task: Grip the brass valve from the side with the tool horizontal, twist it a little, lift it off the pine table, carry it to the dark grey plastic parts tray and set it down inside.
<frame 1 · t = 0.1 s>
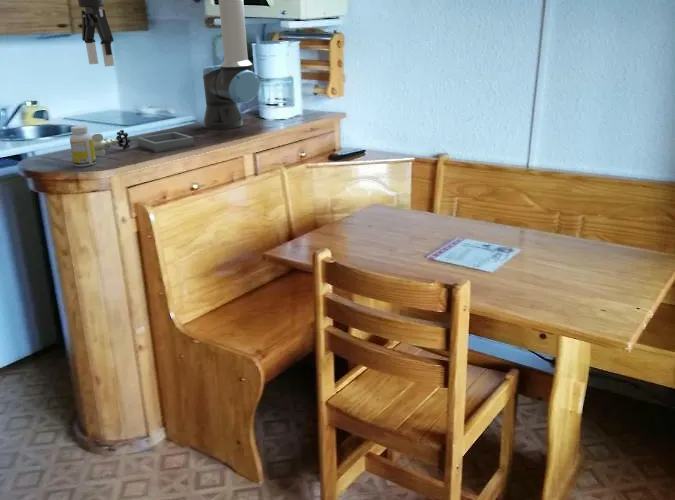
hand: (101, 65, 208), 28 cm above the table, tool pointing down, fingers open, 13 cm apart
valve: (110, 153, 218), on the table
parts tray: (166, 146, 224), on the table
pill bottle: (85, 165, 202), on the table
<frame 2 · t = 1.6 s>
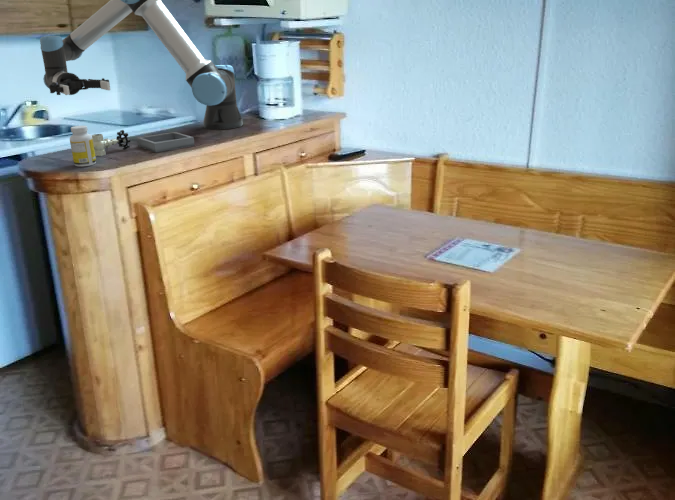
hand: (88, 88, 217), 20 cm above the table, tool horizontal, fingers open, 13 cm apart
nothing on the table moved.
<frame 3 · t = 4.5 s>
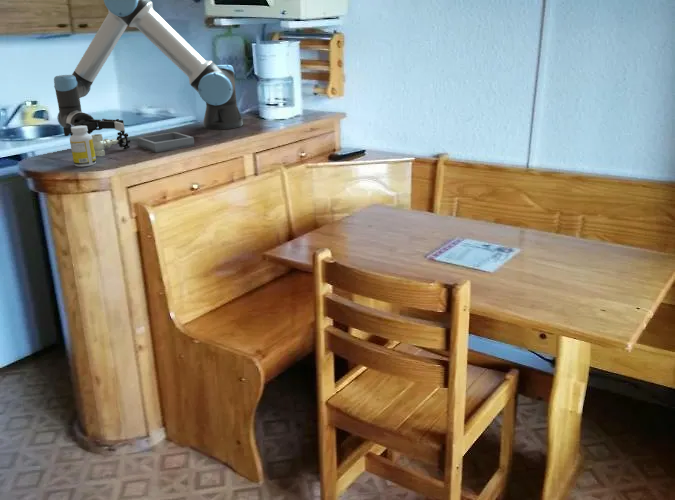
hand: (103, 130, 215), 7 cm above the table, tool horizontal, fingers open, 13 cm apart
valve: (110, 153, 217), on the table, touching gripper
everything else where it was.
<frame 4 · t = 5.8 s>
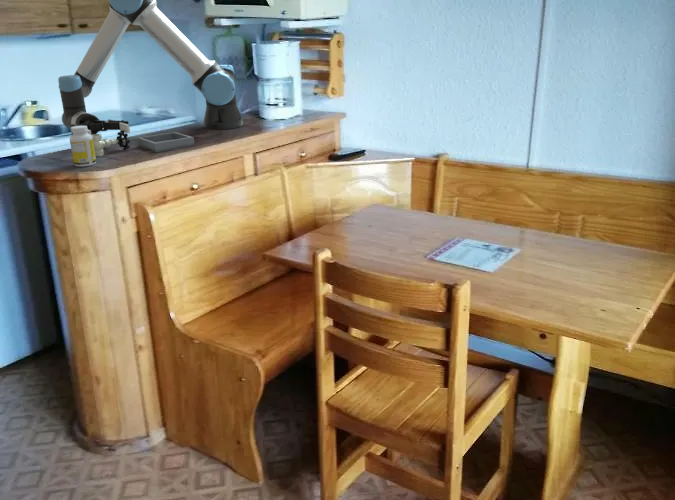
hand: (109, 131, 212), 7 cm above the table, tool horizontal, fingers closed on valve, 12 cm apart
valve: (109, 153, 217), on the table, touching gripper
everything else where it was.
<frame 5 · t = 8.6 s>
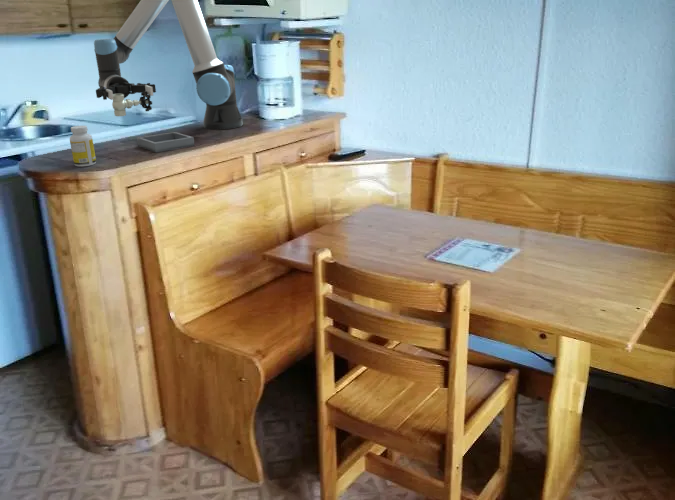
hand: (132, 93, 211), 19 cm above the table, tool horizontal, fingers closed on valve, 12 cm apart
valve: (131, 114, 215), point 12 cm above the table, touching gripper
everything else where it was.
when the fingers open (10 cm above the table, at t = 11.6 s): valve drops 1 cm, resting on parts tray.
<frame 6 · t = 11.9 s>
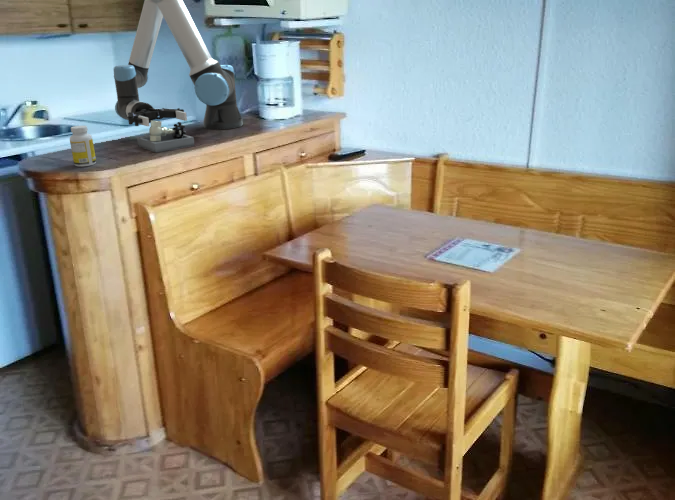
hand: (167, 119, 218), 10 cm above the table, tool horizontal, fingers open, 13 cm apart
valve: (165, 141, 222), point 2 cm above the table, touching parts tray
everything else where it was.
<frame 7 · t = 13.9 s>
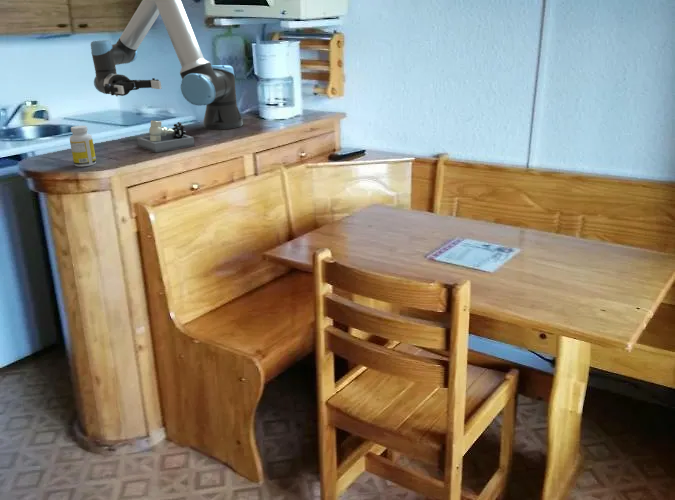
hand: (141, 87, 226), 19 cm above the table, tool horizontal, fingers open, 13 cm apart
nothing on the table moved.
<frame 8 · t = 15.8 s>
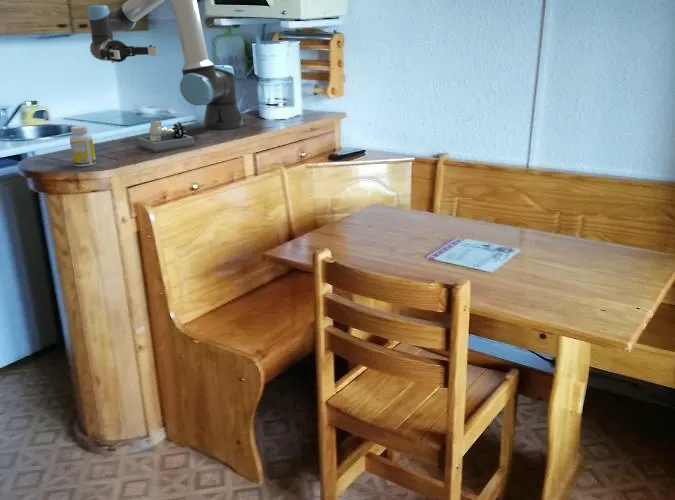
hand: (138, 53, 223), 30 cm above the table, tool horizontal, fingers open, 13 cm apart
nothing on the table moved.
at the end: valve inside the target area on the parts tray (1.3 cm from its centre), point 1.8 cm above the parts tray's base; the gripper is holding nothing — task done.
